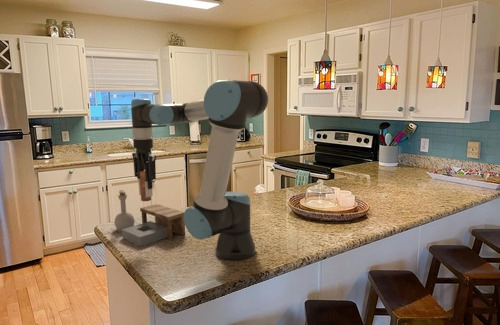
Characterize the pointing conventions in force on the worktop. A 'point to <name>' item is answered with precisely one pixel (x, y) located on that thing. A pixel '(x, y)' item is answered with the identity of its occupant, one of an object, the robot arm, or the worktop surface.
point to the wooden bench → (166, 218)
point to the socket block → (145, 233)
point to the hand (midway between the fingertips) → (145, 195)
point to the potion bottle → (123, 214)
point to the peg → (143, 187)
